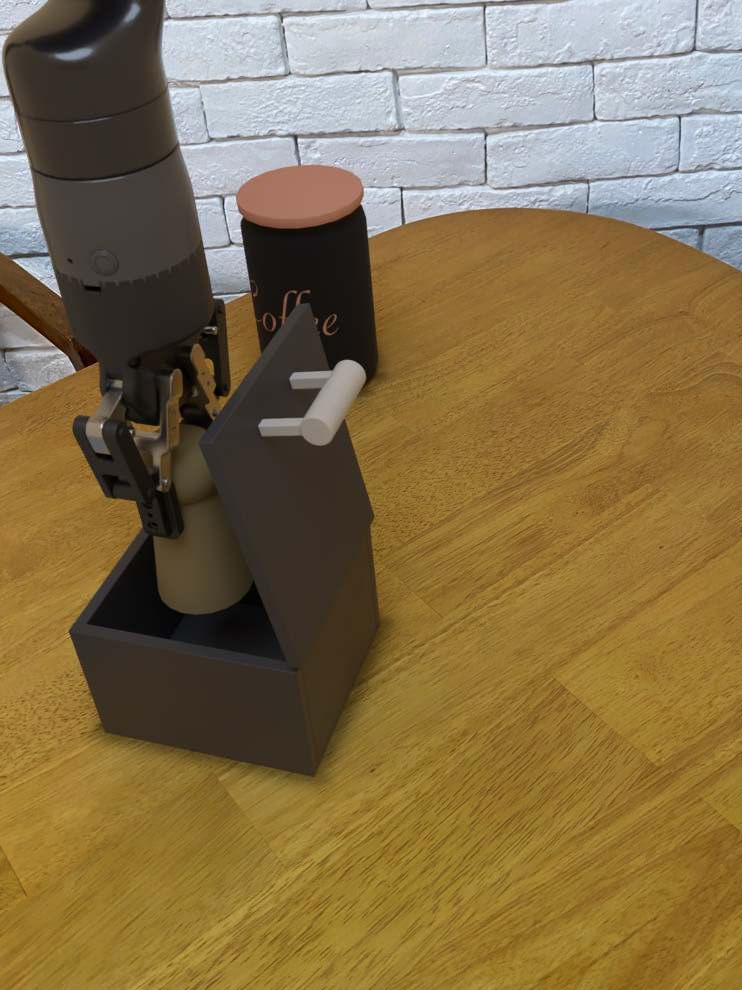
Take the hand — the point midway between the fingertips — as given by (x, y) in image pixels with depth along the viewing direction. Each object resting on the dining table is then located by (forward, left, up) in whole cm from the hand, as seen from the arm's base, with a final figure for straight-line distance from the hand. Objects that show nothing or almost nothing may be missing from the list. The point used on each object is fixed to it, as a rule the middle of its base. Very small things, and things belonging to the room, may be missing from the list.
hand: (187, 502), depth 67 cm
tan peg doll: (0, 0, -7) cm, 7 cm away
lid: (+7, 0, +3) cm, 8 cm away
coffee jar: (-6, +37, -15) cm, 41 cm away
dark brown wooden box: (+2, 0, -15) cm, 15 cm away
